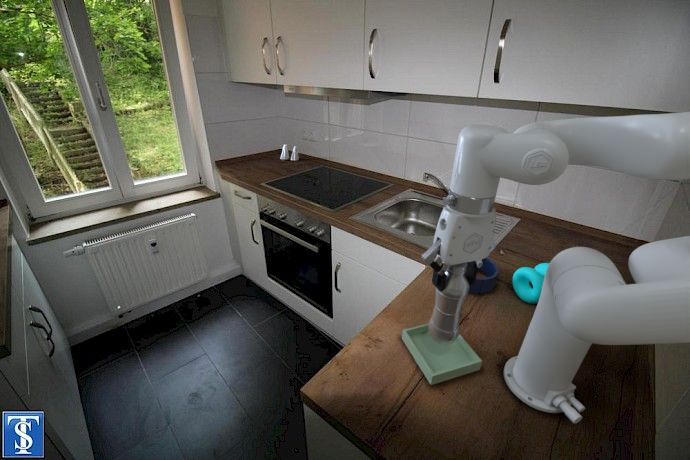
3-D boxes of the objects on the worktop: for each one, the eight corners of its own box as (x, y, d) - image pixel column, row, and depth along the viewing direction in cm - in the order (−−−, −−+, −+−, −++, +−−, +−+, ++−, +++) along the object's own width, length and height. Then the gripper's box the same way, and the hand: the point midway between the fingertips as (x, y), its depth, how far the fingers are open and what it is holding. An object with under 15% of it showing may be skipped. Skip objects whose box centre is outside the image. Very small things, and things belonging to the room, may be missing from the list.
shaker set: (280, 161, 211) (279, 145, 206) (281, 159, 215) (279, 143, 210) (298, 161, 212) (297, 144, 207) (298, 159, 216) (297, 143, 211)
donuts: (506, 289, 92) (515, 261, 88) (533, 283, 95) (543, 255, 90) (534, 312, 84) (545, 282, 79) (562, 304, 87) (575, 275, 82)
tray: (479, 369, 68) (482, 361, 67) (430, 385, 65) (432, 376, 63) (445, 326, 79) (446, 318, 78) (401, 338, 76) (402, 329, 74)
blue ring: (505, 287, 93) (509, 274, 91) (463, 297, 89) (467, 283, 87) (473, 261, 105) (476, 249, 103) (435, 269, 101) (437, 256, 99)
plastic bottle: (436, 352, 66) (452, 274, 57) (421, 329, 72) (433, 255, 62) (463, 346, 68) (482, 269, 58) (446, 323, 73) (461, 250, 64)
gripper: (438, 216, 49) (424, 305, 57) (527, 203, 53) (501, 287, 62) (415, 198, 55) (405, 280, 63) (495, 188, 60) (476, 266, 68)
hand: (453, 283), depth 63 cm, fingers closed on plastic bottle, 6 cm apart
